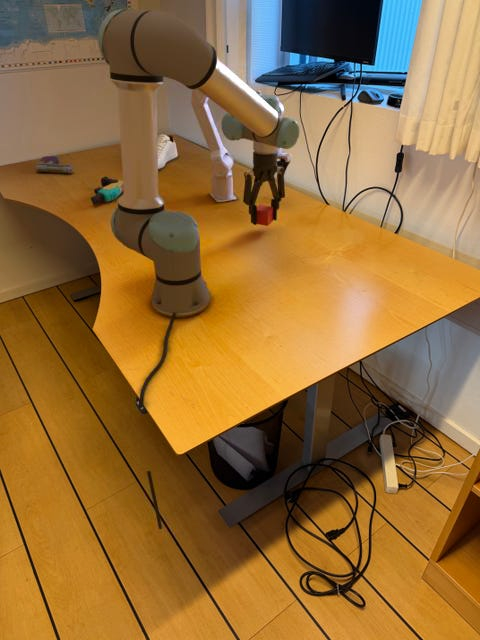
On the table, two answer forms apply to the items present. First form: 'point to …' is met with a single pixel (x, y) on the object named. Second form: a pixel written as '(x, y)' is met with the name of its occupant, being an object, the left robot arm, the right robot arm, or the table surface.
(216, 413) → the table surface
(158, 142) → the sneaker
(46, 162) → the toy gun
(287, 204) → the table surface
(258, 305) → the table surface
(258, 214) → the block
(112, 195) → the toy gun
